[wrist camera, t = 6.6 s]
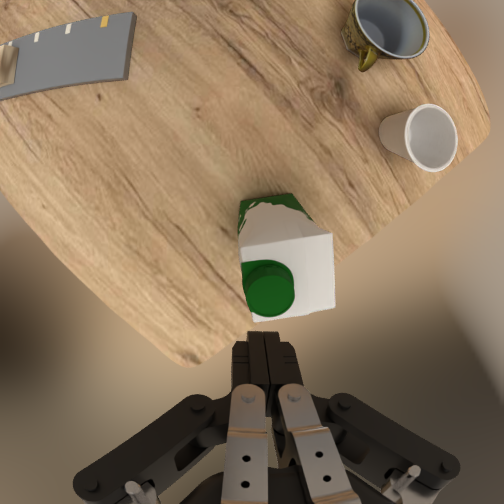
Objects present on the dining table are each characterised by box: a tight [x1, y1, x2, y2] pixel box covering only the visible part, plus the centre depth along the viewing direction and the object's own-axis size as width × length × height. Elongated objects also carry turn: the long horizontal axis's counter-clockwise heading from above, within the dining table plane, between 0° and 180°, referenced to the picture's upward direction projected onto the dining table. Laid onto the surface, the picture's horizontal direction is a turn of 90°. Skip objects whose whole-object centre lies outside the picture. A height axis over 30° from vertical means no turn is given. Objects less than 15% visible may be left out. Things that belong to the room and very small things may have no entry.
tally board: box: [0, 12, 137, 101], centre depth 30 cm, size 10×26×2 cm, turn 85°
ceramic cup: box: [341, 0, 429, 72], centre depth 29 cm, size 13×10×10 cm
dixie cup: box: [379, 104, 458, 172], centre depth 34 cm, size 8×8×10 cm
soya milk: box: [238, 193, 335, 322], centre depth 34 cm, size 9×9×20 cm
